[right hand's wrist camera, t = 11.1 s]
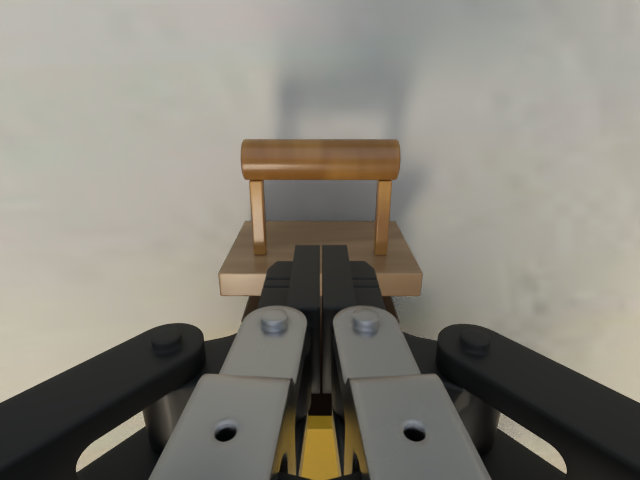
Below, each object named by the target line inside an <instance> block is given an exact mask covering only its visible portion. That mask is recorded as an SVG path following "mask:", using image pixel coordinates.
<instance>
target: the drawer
mask: <svg viewBox="0 0 640 480" xmlns="http://www.w3.org/2000/svg"><path fill="white" fill-rule="evenodd" d="M241 168H242V174H243V177H244V179H246V180H250V181H249V186H250V201H251V217H252V221H245V223H244V225H243V226H242V228H241V230H240V232H239V234H238V236H237V238H236V240H235V242H234V244H233V246H232V248H231V250H230V252H229V254H228V256H227V258H226V259H225V261H224V263H223V265H222V267H221V269H220V271H219V273H218V275H219V285H220V294H221V296H249V299H248V302H247V305H246V308H245V311H244V314H243V317H242V321H243V320H244V318H245V317H246V316H247V315H248V314H249V313H251V312H253V311H255V310H257V307H258V303H259V299H260V296H261V292H262V288H263V285H264V281H265V277H266V274H267V270H268V268H269V267H271V266H272V265H273V264H274V263H275V262H277V261H293V258H294V251H295V245H320V393H311V406H310V409H309V411H308V416H332V393H323V362H322V245H347V249H348V256H349V261H366V262H367V263H368V264H369V265H370V266H372V267H373V268H374V269H375V272H376V276H377V280H378V283H379V288H380V290H381V294H382V297H383V301H384V304H385V308H386V311H387V312H389V313H391V314H392V315H393V316H394V317H395V318H396V320H397V321H398V324H399V319H398V315H397V312H396V309H395V306H394V303H393V300H392V297H391V296H420V294H421V284H422V275H423V274H422V271H421V269H420V268H419V266H418V264H417V262H416V260H415V258H414V256H413V254H412V252H411V250H410V248H409V246H408V245H407V243H406V241H405V239H404V237H403V235H402V233H401V231H400V229H399V227H398V225H397V223H396V222H395V221H389V217H390V203H391V188H392V181H391V180H396V179H397V177H398V174H399V169H400V145H399V142H398V140H396V139H245V140H243V142H242V146H241ZM264 180H377V195H376V213H375V221H266V216H265V196H264Z"/></svg>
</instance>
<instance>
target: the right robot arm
mask: <svg viewBox="0 0 640 480" xmlns="http://www.w3.org/2000/svg"><path fill="white" fill-rule="evenodd" d="M322 362H323V393H332V428H333V436H334V444H335V452H336V459H337V467H338V475H339V477H336V478H332V479H328V480H640V403H638V402H636V401H634V400H632V399H630V398H628V397H626V396H624V395H622V394H620V393H618V392H616V391H614V390H612V389H610V388H608V387H606V386H604V385H602V384H600V383H598V382H596V381H594V380H592V379H590V378H588V377H586V376H584V375H582V374H580V373H578V372H575V371H573V370H571V369H569V368H567V367H565V366H563V365H561V364H559V363H557V362H555V361H553V360H551V359H549V358H547V357H545V356H543V355H541V354H539V353H537V352H535V351H533V350H531V349H529V348H527V347H525V346H523V345H521V344H519V343H517V342H514V341H512V340H510V339H508V338H506V337H504V336H502V335H500V334H498V333H496V332H494V331H492V330H490V329H487V328H484V327H481V326H477V325H471V324H456V325H451V326H448V327H446V328H444V329H443V330H441V332H440V333H439V335H438V341H435V340H430V339H425V338H420V337H416V336H413V335H410V334H407V333H405V332H403V331H402V330H401V328H400V326H399V324H398V321H397V320H396V318H395V317H394V316H393V315H392V314H391V313H389V312H387V311H386V308H385V304H384V301H383V297H382V294H381V290H380V288H379V283H378V280H377V276H376V272H375V269H374V268H373V267H372V266H370V265H369V264H368V263H367V262H366V261H349V256H348V249H347V245H322ZM311 393H320V245H295V251H294V258H293V261H277V262H275V263H274V264H273V265H272V266H271V267H269V268H268V270H267V274H266V277H265V281H264V285H263V288H262V292H261V296H260V299H259V303H258V307H257V310H255V311H253V312H251V313H249V314H248V315H247V316H246V317H245V318H244V320H243V321H242V324H241V326H240V328H239V330H238V333H236V334H234V335H231V336H228V337H224V338H219V339H214V340H209V341H204V336H203V333H202V331H201V330H200V329H199V328H197V327H195V326H193V325H190V324H184V323H173V324H166V325H162V326H158V327H155V328H152V329H150V330H148V331H146V332H144V333H142V334H140V335H138V336H136V337H134V338H132V339H130V340H128V341H126V342H123V343H121V344H119V345H117V346H115V347H113V348H111V349H109V350H107V351H105V352H103V353H101V354H99V355H97V356H95V357H93V358H91V359H89V360H87V361H85V362H83V363H81V364H79V365H77V366H75V367H73V368H71V369H69V370H67V371H65V372H63V373H60V374H58V375H56V376H54V377H52V378H50V379H48V380H46V381H44V382H42V383H40V384H38V385H36V386H34V387H32V388H30V389H28V390H26V391H24V392H22V393H20V394H18V395H16V396H14V397H12V398H10V399H8V400H6V401H4V402H2V403H0V480H312V479H308V478H304V477H301V475H302V467H303V459H304V452H305V444H306V436H307V428H308V411H309V409H310V406H311ZM142 410H143V415H144V420H145V425H146V426H145V427H144V428H142V429H141V430H139V431H138V432H136V433H135V434H133V435H132V436H130V437H129V438H127V439H126V440H124V441H123V442H121V443H120V444H118V445H117V446H115V447H114V448H113V449H111V450H110V451H108V452H107V453H105V454H104V455H102V456H101V457H99V458H98V459H96V460H95V461H93V462H92V463H90V464H89V465H87V466H86V467H84V468H83V469H81V470H80V471H78V472H77V473H76V464H77V461H78V459H79V457H80V455H81V454H82V452H83V451H84V450H85V449H86V448H87V447H88V446H89V445H90V444H91V443H92V442H94V441H95V440H97V439H98V438H100V437H101V436H103V435H105V434H106V433H108V432H109V431H111V430H112V429H114V428H116V427H117V426H119V425H120V424H122V423H123V422H125V421H127V420H128V419H130V418H131V417H133V416H134V415H136V414H137V413H139V412H141V411H142ZM500 412H501V413H503V414H504V415H506V416H507V417H509V418H510V419H512V420H514V421H515V422H517V423H518V424H520V425H521V426H523V427H524V428H526V429H528V430H529V431H531V432H532V433H534V434H535V435H537V436H539V437H540V438H542V439H543V440H545V441H546V442H548V443H549V444H551V445H552V446H553V447H554V448H555V449H556V450H557V451H558V452H559V453H560V455H561V456H562V458H563V459H564V461H565V464H566V467H567V474H565V473H563V472H562V471H560V470H559V469H557V468H556V467H554V466H553V465H551V464H550V463H548V462H547V461H545V460H544V459H542V458H541V457H539V456H538V455H536V454H535V453H533V452H532V451H530V450H529V449H528V448H526V447H525V446H523V445H522V444H520V443H519V442H517V441H516V440H514V439H513V438H511V437H510V436H508V435H507V434H505V433H504V432H502V431H501V430H499V429H498V428H497V426H498V421H499V416H500Z"/></svg>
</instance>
